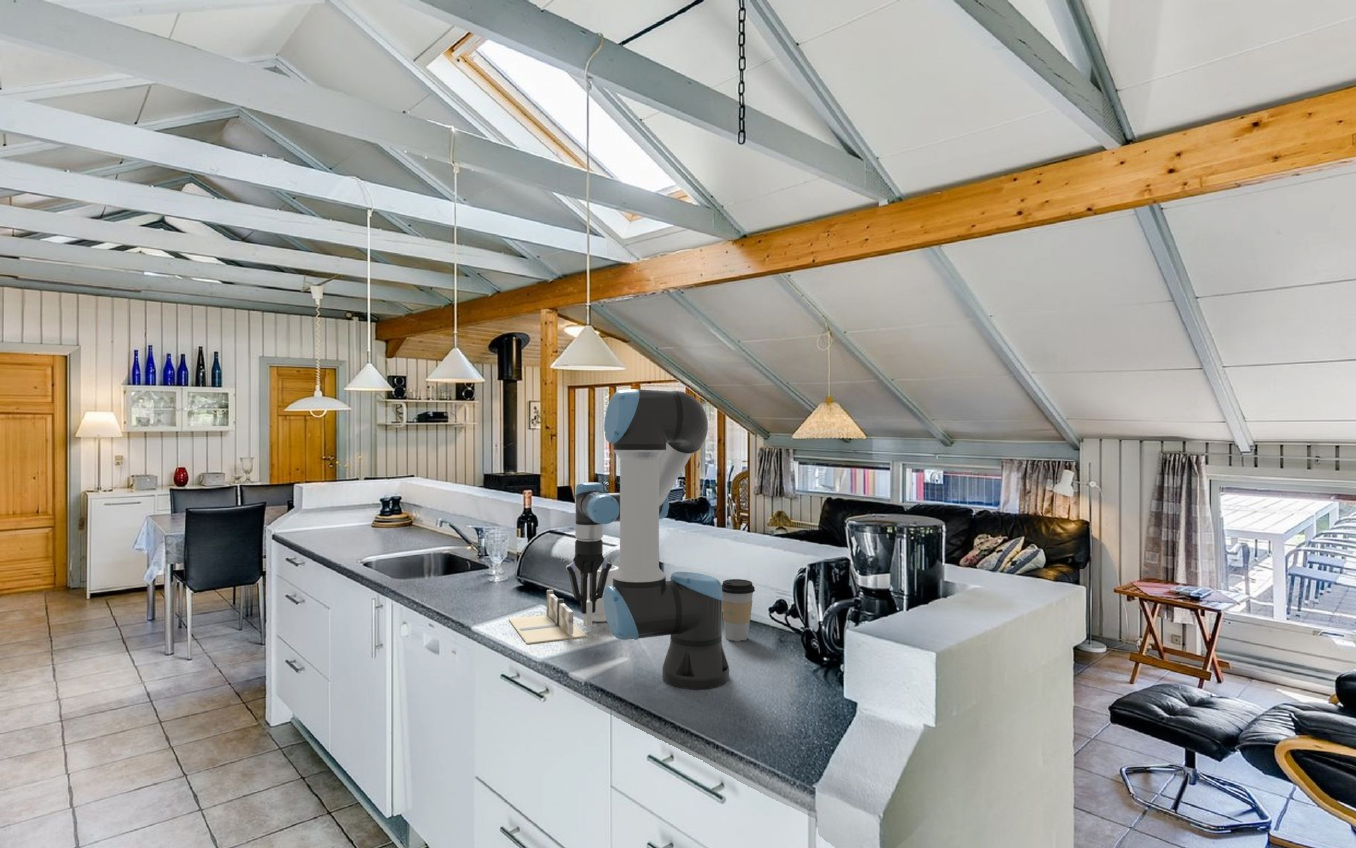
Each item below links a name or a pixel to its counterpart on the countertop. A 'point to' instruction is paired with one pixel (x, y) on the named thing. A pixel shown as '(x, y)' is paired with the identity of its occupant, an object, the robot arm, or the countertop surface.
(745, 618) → the coffee cup
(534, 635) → the card
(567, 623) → the fence flap
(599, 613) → the jar
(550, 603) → the fence fixed
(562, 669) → the countertop surface
